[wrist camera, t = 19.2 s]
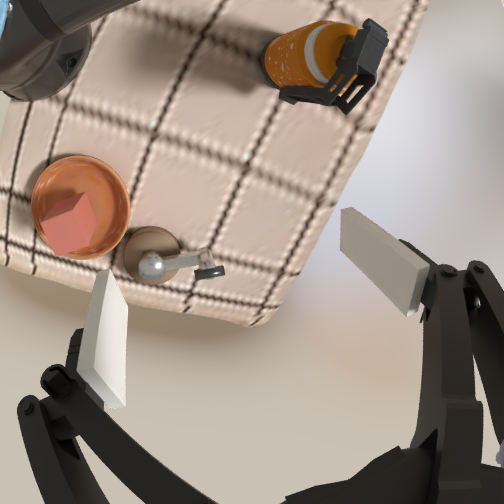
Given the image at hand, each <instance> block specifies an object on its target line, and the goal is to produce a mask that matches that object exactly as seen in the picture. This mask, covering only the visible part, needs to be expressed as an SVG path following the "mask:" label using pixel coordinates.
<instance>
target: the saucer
mask: <svg viewBox="0 0 504 504" xmlns="http://www.w3.org/2000/svg"><path fill="white" fill-rule="evenodd" d="M85 191H86V194H87V197H88V199H89V202H90V205H91V208H92V210H93V213H94V215H95V218H96V221H97V225H96V227H95V230H94V232H93V235H92V237H91V240H90V242H89V245H88V246H86V247H83V248H81V249H78V250H75V251H72V252H69V253H66V254H64V255H62V256H65V257H68V258H71V259H77V260H87V259H93V258H97V257H100V256H102V255H104V254H106V253H108V252H109V251H110V250H112V249H113V248H114V247H115V246H116V245H117V244H118V243H119V242H120V241H121V239H122V238H123V236H124V234H125V232H126V230H127V227H128V224H129V219H130V201H129V196H128V193H127V190H126V187H125V185H124V183H123V181H122V179H121V178H120V176H119V175H118V174H117V173H116V172H115V171H114V170H113V169H112V168H111V167H110V166H109V165H107V164H106V163H104V162H103V161H101V160H99V159H97V158H94V157H90V156H85V155H73V156H68V157H64V158H62V159H59V160H57V161H55V162H54V163H52V164H51V165H49V166H48V167H47V168H46V169H45V170H44V171H43V172H42V173H41V175H40V176H39V178H38V180H37V181H36V184H35V186H34V189H33V192H32V197H31V213H32V218H33V222H34V225H35V228H36V230H37V232H38V234H39V235H40V237H41V238H42V240H43V241H44V242H45V243H46V244H47V245H48V246H49V247H50V248H51V246H50V244H49V241H48V239H47V237H46V235H45V233H44V231H43V228H42V226H41V224H40V223H41V221H42V220H43V219H44V217H45V216H46V215H47V214H48V212H49V211H50V210H51V209H52V207H53V206H54V205H55V204H56V203H57V202H60V201H62V200H64V199H67V198H69V197H72V196H74V195H77V194H80V193H82V192H85ZM51 249H52V248H51Z"/></svg>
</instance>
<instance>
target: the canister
mask: <svg viewBox="0 0 504 504" xmlns="http://www.w3.org/2000/svg"><path fill="white" fill-rule="evenodd" d="M363 28H364V29H359V28H357V27H355V26H353V25H351V24H349V23H345V22H334V21H318V22H315V23H312V24H310V25H307V26H304V27H301V28H299V29H296V30H294V31H291V32H289V33H286V34H284V35H281V36H279V37H276V38H274V39H273V40H271V41H270V42H269V43H267V45H266V46H265V47H264V49H263V51H262V54H261V69H262V71H263V74H264V76H265V77H266V79H267V80H268V81H269V82H270V83H271V84H272V85H273V86H275V87H276V88H278V89H280V92H279V99H281V100H283V101H286V102H288V103H290V104H293V105H294V104H296V103H297V102H298V101H299V102H308V103H316V104H321V105H324V106H330V107H331V106H337V107H338V108H339V109H340V110H341V111H342V112H343V113H344V114H345V115H346V116H347V115H348V114H349V112H350V111H351V110H352V109H353V108H354V107H355V106H356V104H357V103H358V102H359V101H360V100H361V99H362V98H363V97H364V95H365V94H366V93H367V92H368V91H369V90H370V89H372V88H373V87H374V86H375V85H376V83H377V79H378V71H377V69H378V66H379V64H380V61H381V58H382V55H383V53H384V50H385V47H387V45H388V42H389V39H388V38H387V36H388V34H387V33H386V32H387V31H386V30H385V29H384V28H383V27H381V26H380V25H379V24H377V23H376V22H374V21H373V20H372V19H370V18H368V19H366V20H365V21H364V23H363ZM362 86H363V87H362ZM360 87H362V88H361V89H360V90H359V92H358V93H357V94H356V95H355V96H354V97H353V98H352V99H351V100H350V102H349V103H347V99H348V98H349V97H350V95H351V94H352V93H353V92H354V90H355V89H358V88H360ZM338 94H342V96H341V97H340V96H338Z"/></svg>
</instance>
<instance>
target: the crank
mask: <svg viewBox="0 0 504 504" xmlns="http://www.w3.org/2000/svg"><path fill="white" fill-rule="evenodd" d="M196 265H199V266H200V269H199V270H194V273H195V278H196V280H201V279H213V278H214V277H218V276H223V275H225V271H224V267H223V265H221V266H215V263H214V260H213V257H212V254H211V251H210V249H208V248H205V247H203V248H200V249H199V250H198V251H195V252H189V253H183V254H177V255H172V256H166V257H164V256H163V255H162V254H161V253H160V252H159V251H156V250H148V251H145V252H144V253H143V254H142V255H141V256H140V259H139V274H140V276H141V277H142V278H143V279H145V280H147V281H158V280H160V279H161V278H162V277H163V276H164V275H165V271H167V270H173V269H179V268H184V267H190V266H196Z"/></svg>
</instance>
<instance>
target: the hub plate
mask: <svg viewBox="0 0 504 504" xmlns="http://www.w3.org/2000/svg"><path fill="white" fill-rule="evenodd" d="M148 250H156V251H159V252H160V253H161V254H162V255H163V256H164V257H166V256H172V255H177V254H180V248H179V244H178V241H177V240H176V238H175V237H174V236H173V235H172V234H171V233H170V232H169V231H167V230H165V229H163V228H160V227H144V228H141V229H139V230H137V231H136V232H134V233H133V234H132V235H131V236H130V237H129V239H128V240H127V243H126V245H125V251H124V257H123V261H124V266H125V269H126V270H127V272H128V273H129V275H130V276H131V277H132V278H134V279H135V280H137V281H139V282H141V283H144V284H150V285H155V284H161V283H164V282H166V281H168V280H170V279H171V278H172V277H173V276H174V275H175V274H176V273H177V271H178V270H179V269H173V270H167V271H165V275H164V276H163V277H162V278H161V279H160V280H158V281H147V280H145V279H143V278H142V277H141V276H140V274H139V259H140V256H141V255H142V254H143V253H144V252H145V251H148Z"/></svg>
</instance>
